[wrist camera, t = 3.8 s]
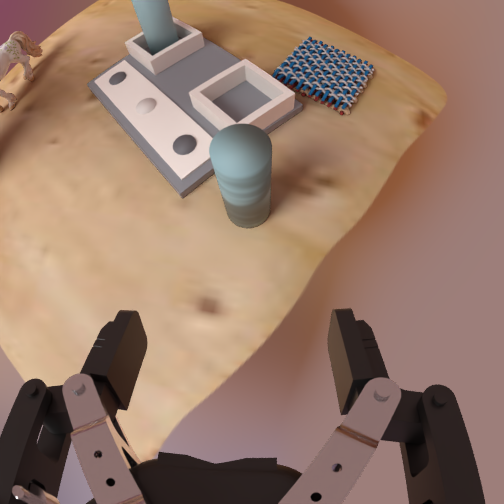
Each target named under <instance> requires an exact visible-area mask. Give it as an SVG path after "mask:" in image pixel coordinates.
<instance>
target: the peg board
mask: <svg viewBox="0 0 504 504" xmlns="http://www.w3.org/2000/svg"><path fill="white" fill-rule="evenodd" d="M131 1H132V3H133V6H134V9H135V12H136V14H137V17H138V20H139V22H140V25H141V28H142V31H143V32H141V33H139V34H138V35H136V36H134V37H133V38H131V39H129V40H128V41H126V42H125V45H126V47H127V49H128V51H129V55H128V56H126V57H124V58H123V59H121V60H120V61H118V62H117V63H115V64H114V65H113V66H111V67H110V68H108V69H107V70H105V71H104V72H102V73H101V74H100V75H98V76H97V77H96V78H94V79H93V80H92V81H90V82H89V83H88V84H87V85H88V87H89V89H90V90H91V91H92V92H93V93H94V95H95V96H96V97H97V98H98V99H99V101H100V102H101V103H102V104H103V105H104V107H105V108H106V109H107V110H108V111H109V113H110V114H111V115H112V116H113V117H114V119H115V120H116V121H117V122H118V123H119V125H120V126H121V127H122V128H123V129H124V130H125V132H126V133H127V134H128V135H129V136H130V138H131V139H132V140H133V141H134V142H135V143H136V145H137V146H138V147H139V148H140V149H141V151H142V152H143V153H144V154H145V155H146V156H147V158H148V159H149V160H150V161H151V162H152V163H153V165H154V166H155V167H156V168H157V169H158V170H159V172H160V173H161V174H162V175H163V176H164V177H165V179H166V180H167V181H168V182H169V183H170V184H171V186H172V187H173V188H174V189H175V190H176V191H177V193H178V194H179V195H180V196H181V197H182V198H184V197H185V196H186V195H187V194H189V193H190V192H191V191H192V190H194V189H195V188H196V187H197V186H199V185H200V184H201V183H203V182H204V181H205V180H206V179H208V178H209V177H210V176H212V175H213V174H214V173H215V171H214V168H213V165H212V161H211V158H210V154H209V147H210V143H211V141H212V139H213V137H214V136H215V135H216V134H217V133H218V132H219V131H220V130H222V129H223V128H225V127H227V126H230V125H234V124H251V125H254V126H257V127H259V128H260V129H262V130H263V131H264V132H265V133H266V134H269V133H270V132H271V131H273V130H274V129H276V128H277V127H279V126H280V125H281V124H283V123H284V122H286V121H287V120H289V119H290V118H292V117H293V116H295V115H296V114H298V113H299V112H301V111H302V108H303V104H301V103H300V102H299V101H297V100H296V99H295V93H294V92H293V91H291V90H290V89H289V88H287V87H286V86H285V85H283V84H282V83H280V82H279V81H278V80H276V79H275V78H273V77H272V76H270V75H269V74H268V73H266V72H265V71H263V70H262V69H260V68H259V67H257V66H256V65H254V64H253V63H251V62H250V61H248V60H247V59H244V60H242V61H241V60H239V59H238V58H236V57H235V56H233V55H232V54H230V53H229V52H227V51H225V50H224V49H222V48H220V47H219V46H217V45H216V44H214V43H212V42H211V41H209V40H207V39H205V38H204V37H203V36H202V32H200V31H199V30H197V29H195V28H193V27H191V26H189V25H188V24H186V23H184V22H182V21H180V20H178V19H176V18H174V17H172V14H171V11H170V7H169V3H168V0H131Z"/></svg>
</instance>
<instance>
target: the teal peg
mask: <svg viewBox="0 0 504 504" xmlns="http://www.w3.org/2000/svg"><path fill="white" fill-rule="evenodd" d="M209 154H210V158H211V161H212V165H213V168H214V171H215V175H216V178H217V181H218V185H219V188H220V191H221V194H222V198H223V201H224V204H225V207H226V211H227V214H228V217H229V218H230V220H231V221H232V222H233V223H234V224H235V225H237V226H239V227H242V228H254V227H257V226H259V225H261V224H262V223H263V222H264V221H265V220H266V219H267V218H268V216H269V213H270V200H271V166H272V144H271V140H270V138H269V136H268V135H267V134H266V133H265V132H264V131H263V130H262V129H260V128H259V127H257V126H254V125H251V124H234V125H230V126H227V127H225V128H223V129H222V130H220V131H219V132H218V133H217V134H216V135H215V136H214V137H213V139H212V141H211V143H210V147H209Z"/></svg>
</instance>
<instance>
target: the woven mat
mask: <svg viewBox="0 0 504 504" xmlns="http://www.w3.org/2000/svg"><path fill="white" fill-rule="evenodd" d="M311 39H312V37H309V38H308V39H307V40H302V41H304V42H302V43H303V44H301V43H300V46H299V47H295V48H296V49H294V52H292V55H289V56H288V58H286V59H287V60H285V61H283V62H284V63H282V64H281V65H279V67H277V69H276V70H274V71H275V72H274V74H273V75H271V76H272V77H273V78H275V79H276V80H278V81H279V82H280V83H282V84H283V85H285V86H286V87H287V88H289V89H291V90H294V91H296V92H299V93H302V94H301V95H302V96H305V95H307V96H308V97H309V98H312V99H314V101H318V102H320V103H321V104H325V105H327V106H328V107H331V108H333V109H334V110H337V111H340V114H341V115H343V114H344V113H345V114H346V115H349V114H350V111H349V109H348V107H349V108H350V107H351V106H352V105H351V104H350V102H353V103H356V102H357V101H358V100H357V96H358V95H359V93H357V92H360V93H363V91H364V90H362V89H363V88H366V87H367V84H366V82H367V80H368V78H369V79H371V78H373V76H372V73H373V72H372V71H374V69H372V68H373V65H370V66H369V67H368V66H367V63H368V61H366V60H365V62H364V63H363V64H362V62H361V61H362V60H361V59H358V60H356V56H353V57H350V54H347V55H346V54H345V51H343V50H342V52H340V51H339V49H335V50H334V46H331V47H328V45H327V44H325V45H324V46H323V44H322V43H323V42H322V41H320V42H319V44H318V43H317V40H313V41H312V40H311ZM322 46H323V47H322ZM333 51H334V52H333ZM338 54H339V55H338ZM344 56H345V57H344ZM326 59H327V60H326ZM349 59H351V60H349ZM331 62H333V63H331ZM339 64H340V65H339ZM313 65H314V66H313ZM337 65H338V66H337ZM352 65H353V66H352ZM318 68H319V69H318ZM324 71H325V72H324ZM340 71H341V72H340ZM354 72H356V74H355V73H354ZM369 73H370V74H369ZM342 78H343V79H344V80H343V79H342ZM284 79H285V80H284ZM357 79H358V80H357ZM283 80H284V81H283ZM334 80H335V81H334ZM339 83H340V84H339ZM313 84H314V85H313ZM296 85H297V86H296ZM345 85H346V86H345ZM328 86H330V87H328ZM361 86H362V87H361ZM335 88H336V89H337V90H335ZM315 92H316V94H315V95H314V93H315ZM341 92H342V93H341ZM349 93H350V94H349ZM321 95H323V97H322V98H320V96H321ZM327 98H329V100H328V101H326V100H327ZM344 99H345V100H344ZM335 100H336V101H337V102H336V104H333V102H335ZM340 104H342V105H340Z"/></svg>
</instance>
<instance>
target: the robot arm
mask: <svg viewBox="0 0 504 504" xmlns="http://www.w3.org/2000/svg"><path fill="white" fill-rule="evenodd" d="M146 350H147V337H146V334H145V331H144V328H143V325H142V322H141V319H140V316H139V313H138V312H137V311H129V310H120V311H119V312H118V314H117V316H116V318H115V320H114V322H111V321H109V322H108V323H107V324H106V325H105V326H104V327H103V328H102V329H101V331H100V333H99V335H98V337H97V340H96V341H95V343H94V345H93V347H92V349H91V351H90V353H89V355H88V357H87V359H86V361H85V363H84V366H83V368H82V370H81V372H80V374H75V375H73V376H71V377H69V378H68V379H67V380H66V381H65V383H64V385H60V386H51V387H47V386H46V385H45V383H44V382H43V381H42V380H40V379H31V380H29V381H27V382H26V383H25V384H24V385H23V386H22V388H21V389H20V391H19V394H18V396H17V398H16V400H15V402H14V405H13V407H12V409H11V412H10V414H9V416H8V419H7V422H6V424H5V426H4V429H3V431H2V434H1V437H0V504H60V503H59V501H58V500H57V496H58V491H59V486H60V483H61V478H62V474H63V470H64V466H65V462H66V459H67V455H68V451H69V448H70V444H71V441H72V442H73V445H74V448H75V451H76V454H77V457H78V459H79V462H80V465H81V467H82V470H83V472H84V475H85V477H86V480H87V482H88V485H89V487H90V489H91V491H92V494H93V496H94V498H93V499H92V500H91V501H89V502H87V503H86V504H342V503H343V502H344V500H345V498H346V497H347V496H348V494H349V493H350V491H351V490H352V488H353V487H354V485H355V483H356V482H357V480H358V479H359V477H360V475H361V474H362V472H363V471H364V469H365V467H366V466H367V464H368V462H369V460H370V459H371V457H372V455H373V454H374V452H375V450H376V448H377V446H378V443H379V441H380V440H385V441H393V442H399V443H400V448H401V454H402V459H403V465H404V471H405V478H406V484H407V491H408V498H409V504H485V499H484V494H483V490H482V485H481V481H480V477H479V473H478V469H477V465H476V461H475V458H474V454H473V450H472V447H471V443H470V440H469V437H468V433H467V430H466V427H465V424H464V421H463V418H462V415H461V412H460V409H459V406H458V403H457V400H456V397H455V395H454V393H453V392H452V391H451V390H450V389H449V388H447V387H446V386H443V385H432V386H430V387H428V388H427V389H426V390H425V391H424V393H422V392H414V391H407V390H403V389H400V388H399V386H398V385H397V384H396V383H395V382H394V381H392V380H390V379H389V376H388V373H387V370H386V368H385V365H384V362H383V359H382V356H381V353H380V350H379V349H378V345H377V342H376V340H375V336H374V334H373V331H372V328H371V327H370V326H369V325H368V324H367V323H366V322H365V321H364V320H358V321H356V320H355V317H354V314H353V311H352V309H333V310H332V314H331V321H330V327H329V333H328V351H329V355H330V361H331V366H332V371H333V376H334V380H335V386H336V391H337V397H338V402H339V407H340V413H341V415H346V414H347V416H346V418H345V419H344V421H343V422H342V424H341V425H340V426H339V427H337V428H336V429H335V431H334V432H333V433H332V435H331V436H330V438H329V439H328V441H327V442H326V443H325V445H324V446H323V448H322V449H321V450H320V452H319V453H318V455H317V456H316V457H315V459H314V460H313V461H312V463H311V464H310V465H309V466H308V468H307V469H306V470H305V472H304V473H303V474H302V473H300V472H298V471H297V470H294V469H292V468H290V467H286V466H283V465H278V464H277V458H245V459H240V460H235V461H230V462H224V463H218V464H214V463H210V462H207V461H204V460H200V459H197V458H194V457H191V456H188V455H182V454H173V453H164V452H159V454H158V459H152V460H148V461H145V462H142V463H141V461H140V460H139V458H138V457H137V456H136V454H135V452H134V451H133V449H132V447H131V445H130V443H129V441H128V439H127V437H126V435H125V433H124V431H123V429H122V427H121V425H120V423H119V420H118V418H117V417H116V413H117V410H118V409H121V410H127V409H128V406H129V402H130V399H131V396H132V393H133V390H134V386H135V383H136V380H137V377H138V374H139V371H140V368H141V365H142V362H143V359H144V356H145V353H146ZM42 424H43V428H42V431H41V434H40V437H39V440H38V443H37V439H38V436H39V432H40V430H41V427H42Z"/></svg>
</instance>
